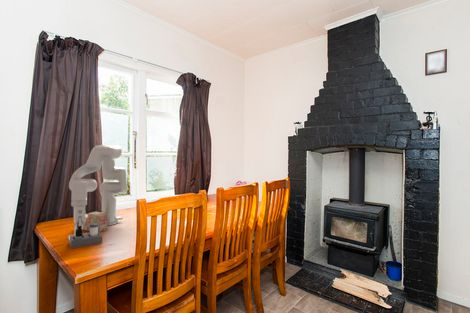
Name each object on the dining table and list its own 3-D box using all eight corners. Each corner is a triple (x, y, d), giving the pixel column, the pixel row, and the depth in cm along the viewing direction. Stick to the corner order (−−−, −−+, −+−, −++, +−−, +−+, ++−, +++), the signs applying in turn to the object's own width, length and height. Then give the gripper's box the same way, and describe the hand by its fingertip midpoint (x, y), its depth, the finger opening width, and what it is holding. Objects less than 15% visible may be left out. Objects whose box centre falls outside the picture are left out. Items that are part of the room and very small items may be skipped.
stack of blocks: (78, 229, 170) (78, 211, 170) (87, 226, 176) (87, 209, 176) (99, 234, 161) (100, 215, 161) (108, 231, 167) (108, 213, 167)
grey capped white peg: (97, 239, 147) (97, 223, 147) (98, 242, 143) (98, 224, 143) (88, 241, 144) (89, 224, 144) (89, 243, 141) (90, 226, 141)
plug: (82, 238, 142) (83, 220, 142) (83, 240, 139) (83, 222, 139) (73, 239, 140) (73, 221, 140) (74, 241, 136) (74, 223, 136)
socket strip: (99, 240, 150) (99, 231, 150) (102, 245, 143) (102, 235, 143) (69, 245, 141) (69, 235, 141) (70, 250, 134) (71, 240, 133)
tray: (88, 235, 158) (88, 232, 158) (90, 240, 151) (90, 236, 151) (68, 238, 151) (68, 235, 151) (69, 243, 144) (69, 240, 144)
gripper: (89, 204, 135) (88, 238, 135) (85, 199, 148) (84, 230, 148) (72, 206, 130) (71, 241, 130) (70, 200, 144) (69, 232, 144)
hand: (78, 234), depth 139 cm, fingers closed on plug, 3 cm apart
